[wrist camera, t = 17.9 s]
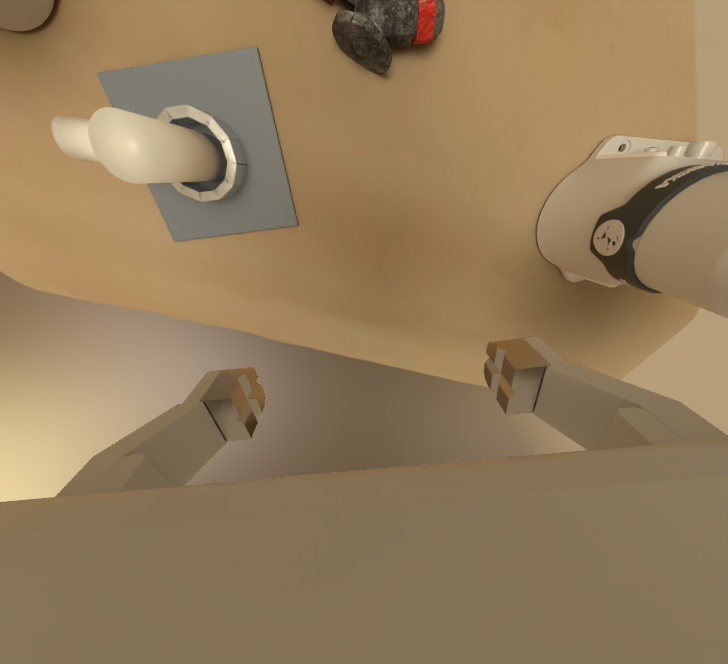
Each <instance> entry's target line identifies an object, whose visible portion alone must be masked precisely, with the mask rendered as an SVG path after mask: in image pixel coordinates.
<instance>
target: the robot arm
mask: <svg viewBox="0 0 728 664" xmlns="http://www.w3.org/2000/svg"><path fill="white" fill-rule="evenodd" d="M620 145H621V149H620V150H619V151H618V149H619V147H620ZM537 242H538V246H539V249H540V251H541V253H542V255H543V256H544V257H545V258H546V259H547V260H548V261H549V262H551V263H552V264H554V265H556V266H557V267H558V268H559V269H560V270H561V273H562V275H563V277H564V278H565V279H566V280H567V281H570V282H579V281H582V280H586V279H587V280H590V281H593V282H596V283H599V284H602V285H605V286H608V287H617V286H618V285H623V284H626V285H628V286H630V287H633V288H635V289H639V290H644V291H648V292H652V293H664V294H667V295H669V296H672V297H675V298H677V299H680V300H682V301H685V302H688V303H690V304H693V305H695V306H698V307H700V308H703V309H706V310H708V311H711V312H714V313H716V314H719V315H721V316H724V317H726V318H728V161H723V151H722V147H720V146H718V142H717V141H699V142H681V141H671V140H661V139H651V138H641V137H630V136H620V135H613V136H609V137H607V138H606V139H604V140H603V141H602V142H601V143H600V144H599V146H598V147H597V148H596V149H595V151H594V152H593V153H592V155H591V156H590V157H589V159H588V160H587V161H586V162H585V163H584V164H582V165H581V166H580V167H579V168H577V169H576V170H575V171H573V172H572V173H571V174H569V175H568V176H567V177H566V178H565V179H564V180H563V181H562V182H561V183H560V184H559V185H558V186H557V187H556V188H555V190H554V191H553V192H552V194H551V195H550V197H549V198H548V200H547V202H546V203H545V205H544V207H543V210H542V212H541V215H540V218H539V221H538V226H537ZM486 353H487V354H488V356H489V357H490V358H489V359H488V360H487V361H486V362H485V365H484V375H485V380H486V382H487V385H488V387H489V388H490V390H492V391H494V392H495V393H497V398H496V399H497V401H498V403H499V404H500V406H501V408H502V409H503V411H504V412H505V414H518V413H519V414H520V413H533V414H535V415H536V416H537V417H539V418H540V419H542V420H543V421H545V422H546V423H548V424H549V425H551V426H552V427H554V428H555V429H557V430H558V431H560V432H561V433H563V434H564V435H566V436H567V437H569V438H570V439H571V440H573V441H575V442H576V443H577V444H579V445H580V446H582V447H583V448H585V449H586V451H575V452H564V453H552V454H541V455H530V456H518V457H507V458H496V459H485V460H473V461H461V462H450V463H439V464H428V465H416V466H405V467H393V468H382V469H370V470H359V471H349V472H337V473H326V474H315V475H303V476H291V477H280V478H269V479H257V480H247V481H235V482H224V483H212V484H202V485H190V486H184V485H185V484H186V483H187V482H188V481H189V480H190V479H191V478H192V477H193V476H194V475H195V474H196V473H197V472H198V471H199V470H200V469H201V468H202V467H203V466H204V465H205V464H206V463H207V462H208V461H209V460H210V459H211V458H212V457H213V456H214V455H215V454H216V453H217V452H218V451H219V450H220V449H221V448H222V447H223V446H224V445H225V444H226V442H228V441H236V440H244V439H251V438H252V435H253V433H254V430H255V428H256V425H257V423H258V422H257V420H256V417H257V416H258V415H259V414H261V413H262V411H263V408H264V405H265V393H264V390H263V387H262V386H261V385H260V384H258V383H257V382H256V380H257V378H258V375H257V373H256V371H255V369H253V368H252V367H249V368H238V369H226V370H216V371H210V372H207V373H206V374H205V376H204V377H203V378H202V379H201V381H200V382H199V383H198V384H197V386H196V387H195V388H194V390H193V391H192V392H191V394H190V395H189V396H188V397H187V399H186V400H185V401H184V402H183V404H178V405H176V406H174V407H173V408H171V409H169V410H168V411H166V412H165V413H163V414H161V415H160V416H158V417H157V418H155V419H153V420H152V421H150V422H149V423H147V424H145V425H144V426H142V427H141V428H139V429H137V430H136V431H134V432H132V433H131V434H129V435H128V436H126V437H124V438H123V439H121V440H119V441H118V442H116V443H115V444H113V445H111V446H110V447H108V448H107V449H105V450H103V451H102V452H100V453H98V454H97V455H95V456H94V457H92V458H91V460H90V461H89V462H88V463H87V464H86V465H85V466H84V467H83V468H82V469H81V470H80V471H79V472H78V473H77V474H76V475H75V476H74V478H72V480H71V481H70V482H69V483H68V484H67V485H66V486H65V487H64V488H63V489H62V490H61V491H60V492H59V493H58V494H57V496H55V497H53V498H42V499H30V500H19V501H7V502H0V664H728V435H726V434H725V433H723V432H722V431H721V430H719V429H718V428H716V427H715V426H713V425H712V424H711V423H709V422H708V421H706V420H705V419H704V418H702V417H701V416H699V415H698V414H696V413H695V412H694V411H692V410H691V409H689V408H688V407H686V406H685V405H684V404H682V403H681V402H679V401H676V400H673V399H670V398H668V397H665V396H662V395H660V394H657V393H654V392H651V391H649V390H646V389H643V388H640V387H637V386H635V385H632V384H629V383H626V382H624V381H621V380H618V379H615V378H613V377H610V376H607V375H604V374H602V373H599V372H596V371H593V370H591V369H588V368H585V367H582V366H580V365H577V364H569V363H568V362H567V361H565V360H564V359H563V358H562V357H561V356H560V355H559V354H558V353H556V352H555V351H554V350H553V349H552V348H551V347H550V346H548V345H547V344H546V343H545V342H544V341H543V340H542V339H541V338H539V337H536V336H532V337H525V338H519V339H512V340H504V341H495V342H489V343H488V345H487V350H486Z"/></svg>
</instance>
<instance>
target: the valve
mask: <svg viewBox="0 0 728 664" xmlns="http://www.w3.org/2000/svg"><path fill="white" fill-rule="evenodd" d="M329 1H330V2H332V0H329ZM347 1H349V2H350V3H352V4H353V5H355V9H354V12H352V11H347V10H344V11H340V12H338V13H337V14H336V16H335V19H334V22H333V25H332V31H333V35H334V38H335V40H336V42H337V43H338V45H339V46H340V48H341V49H342V50H343V51H344V53H345V54H346V55H347V56H348V57H350V58H351V59H353V60H354V61H356V62H357V63H359V64H360V65H362V66H363V67H365V68H366V69H368V70H369V71H371V72H374V73H384V72H386V71H387V70H388V69H389V66H390V64H391V61H392V51H391V48H390V46H406V45H411V42H412V41H413V45H416V44H428V43H429V42H430V41H431V40H435V39H436V38H437V37H438V35H439V34H440V32H441V30H442V27H443V23H444V14H445V5H444V1H443V0H347Z"/></svg>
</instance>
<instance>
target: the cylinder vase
mask: <svg viewBox="0 0 728 664" xmlns="http://www.w3.org/2000/svg"><path fill="white" fill-rule="evenodd" d="M54 1H55V0H0V28H2V29H6V30H11V31H27V30H31V29H34V28H36V27H38V26H40V25H41V24H42V23H44V22H45V20H46V19H47V18H48V16H49V15H50V13H51V11H52V8H53V5H54Z"/></svg>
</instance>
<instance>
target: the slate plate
mask: <svg viewBox="0 0 728 664" xmlns="http://www.w3.org/2000/svg"><path fill="white" fill-rule="evenodd" d="M97 75H98V77H99V80H100V82H101V84H102V86H103V88H104V90H105V93H106V95H107V97H108V99H109V101H110V103H111V106H112V108H117V109H121V110H125V111H128V112H132V113H135V114H139V115H142V116H146V117H150V118H153V119H157V118H158V116H159V115H160V114H161V112H162V111H163V110H164V108H165V109H166V108H167V107H174V106H180V105H189V106H192V107H194V108H197V109H199V110H201V111H204V112H206V113H208V114H210V115H212V116H214V117H216V118H218V119H220V120H222V121H224V122H226V124H227V125H228V126H229V127H230V129H231V130H232V131H233V132H234V134H235V135H236V136H237V137H238V139H239V140H240V142H241V143H242V147H243V150H244V154H245V157H246V161H247V164H246V165H248V166H247V171H246V177H245V182H244V184H243V186H242V187H241V188H240V190H239V191H238V192H237V193H236V194H235V195H234V196H233V197H230V198H224V199H218V200H211V201H204V202H200V201H198V200H195V199H193V198H191V197H188V196H186V195H183V194H181V193H179V192H178V190H177V189H176V188H175V187H174V186H173V185H172V184H171V183H148V186H149V188H150V190H151V192H152V194H153V196H154V199H155V201H156V203H157V205H158V207H159V209H160V212H161V214H162V216H163V218H164V220H165V222H166V225H167V227H168V229H169V231H170V233H171V235H172V237H173V240H174V242H175V241H183V240H191V239H198V238H206V237H213V236H221V235H228V234H236V233H244V232H251V231H259V230H266V229H274V228H281V227H289V226H297V225H298V221H297V217H296V213H295V208H294V204H293V199H292V195H291V191H290V186H289V182H288V178H287V173H286V169H285V164H284V160H283V156H282V151H281V147H280V143H279V138H278V134H277V130H276V125H275V121H274V116H273V112H272V108H271V103H270V99H269V95H268V90H267V86H266V82H265V77H264V73H263V68H262V64H261V60H260V55H259V51H258V48H257V47H252V48H246V49H240V50H234V51H228V52H222V53H216V54H210V55H204V56H198V57H191V58H185V59H179V60H173V61H167V62H161V63H155V64H149V65H143V66H137V67H131V68H125V69H119V70H113V71H106V72H100V73H97ZM187 128H189V129H192V130H196V131H200V132H203V133H207V134H210V135H213V136H214V137H216V136H215V134H214V133H213V132H212V131H211V130H210V129H209V127H208V126H207V125H205V124H203V123H198V124H192V125H189V126H188V127H187ZM216 138H217V137H216ZM217 139H218V138H217ZM224 180H225V178H224V179H222V180H220V181H203V182H196V183H197V184H198V185H201V186H203V187H205V188H208V189H210V190H212V191H213V190H215V189H216V188H217V187H218V186H219V185H220V184H221V183H222V182H223V181H224Z"/></svg>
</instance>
